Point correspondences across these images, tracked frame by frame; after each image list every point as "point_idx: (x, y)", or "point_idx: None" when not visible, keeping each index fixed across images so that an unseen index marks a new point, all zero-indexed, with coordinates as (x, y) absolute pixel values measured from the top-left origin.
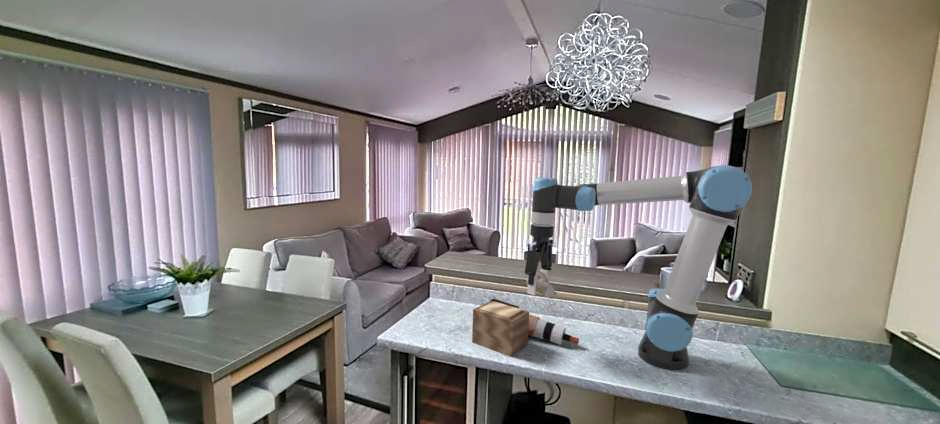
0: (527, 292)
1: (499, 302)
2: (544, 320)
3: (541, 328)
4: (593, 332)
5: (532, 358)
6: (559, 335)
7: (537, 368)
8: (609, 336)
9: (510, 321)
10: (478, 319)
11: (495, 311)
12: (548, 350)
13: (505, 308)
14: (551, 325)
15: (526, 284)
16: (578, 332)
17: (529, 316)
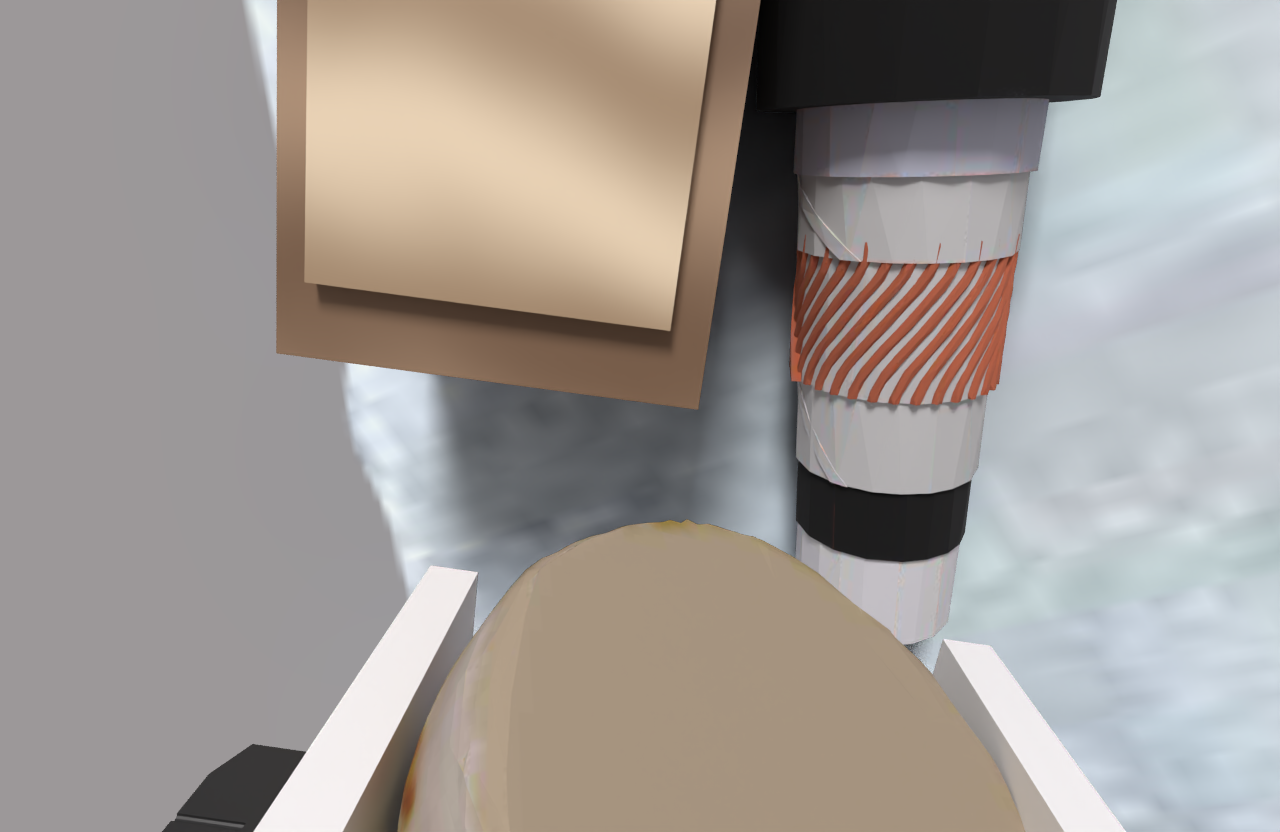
0: (424, 580)
1: None
2: (931, 460)
3: (815, 450)
4: (1191, 715)
5: (502, 448)
6: None
7: (395, 522)
8: (1163, 820)
9: (281, 317)
10: None
11: (366, 6)
12: (689, 507)
13: (567, 87)
14: (872, 540)
15: (574, 543)
16: (1137, 619)
17: (914, 302)
